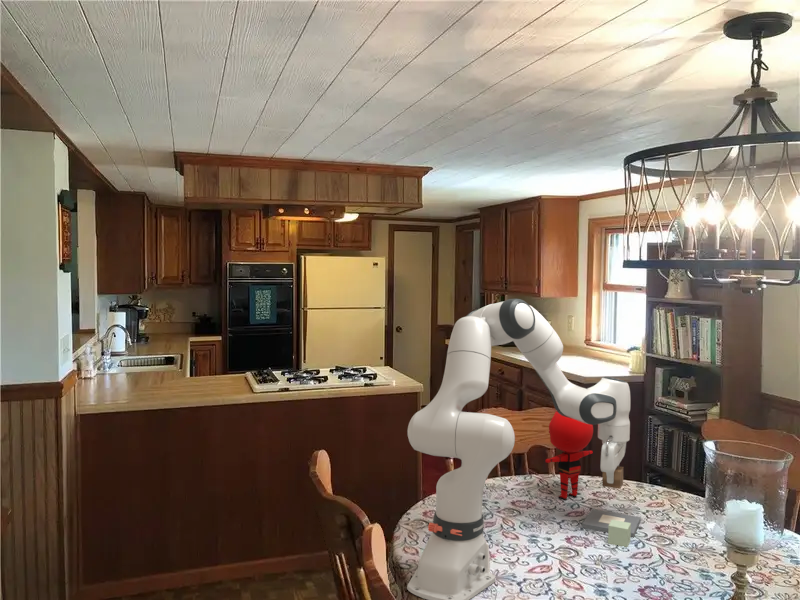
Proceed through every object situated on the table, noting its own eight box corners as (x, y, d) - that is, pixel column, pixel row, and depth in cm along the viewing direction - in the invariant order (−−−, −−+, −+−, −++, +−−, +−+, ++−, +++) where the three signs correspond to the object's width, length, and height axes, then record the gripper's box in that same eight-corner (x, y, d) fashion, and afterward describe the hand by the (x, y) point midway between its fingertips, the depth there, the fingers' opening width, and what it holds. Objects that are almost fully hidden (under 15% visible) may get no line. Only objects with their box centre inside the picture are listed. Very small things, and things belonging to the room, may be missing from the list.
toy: (575, 487, 216) (577, 400, 215) (608, 498, 204) (610, 407, 203) (531, 498, 204) (532, 406, 203) (562, 511, 192) (565, 414, 192)
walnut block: (620, 488, 179) (620, 471, 179) (602, 485, 181) (602, 468, 181) (623, 483, 183) (623, 467, 183) (605, 481, 186) (605, 464, 185)
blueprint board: (633, 537, 173) (633, 533, 173) (582, 527, 180) (582, 523, 180) (640, 521, 185) (640, 516, 185) (592, 512, 192) (592, 508, 192)
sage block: (627, 547, 167) (627, 529, 166) (608, 543, 169) (608, 525, 169) (630, 541, 171) (630, 523, 171) (611, 537, 173) (611, 519, 173)
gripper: (619, 442, 171) (617, 492, 172) (630, 427, 189) (628, 472, 190) (595, 439, 174) (594, 488, 175) (608, 424, 192) (607, 469, 193)
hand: (612, 479), depth 182 cm, fingers closed on walnut block, 5 cm apart
